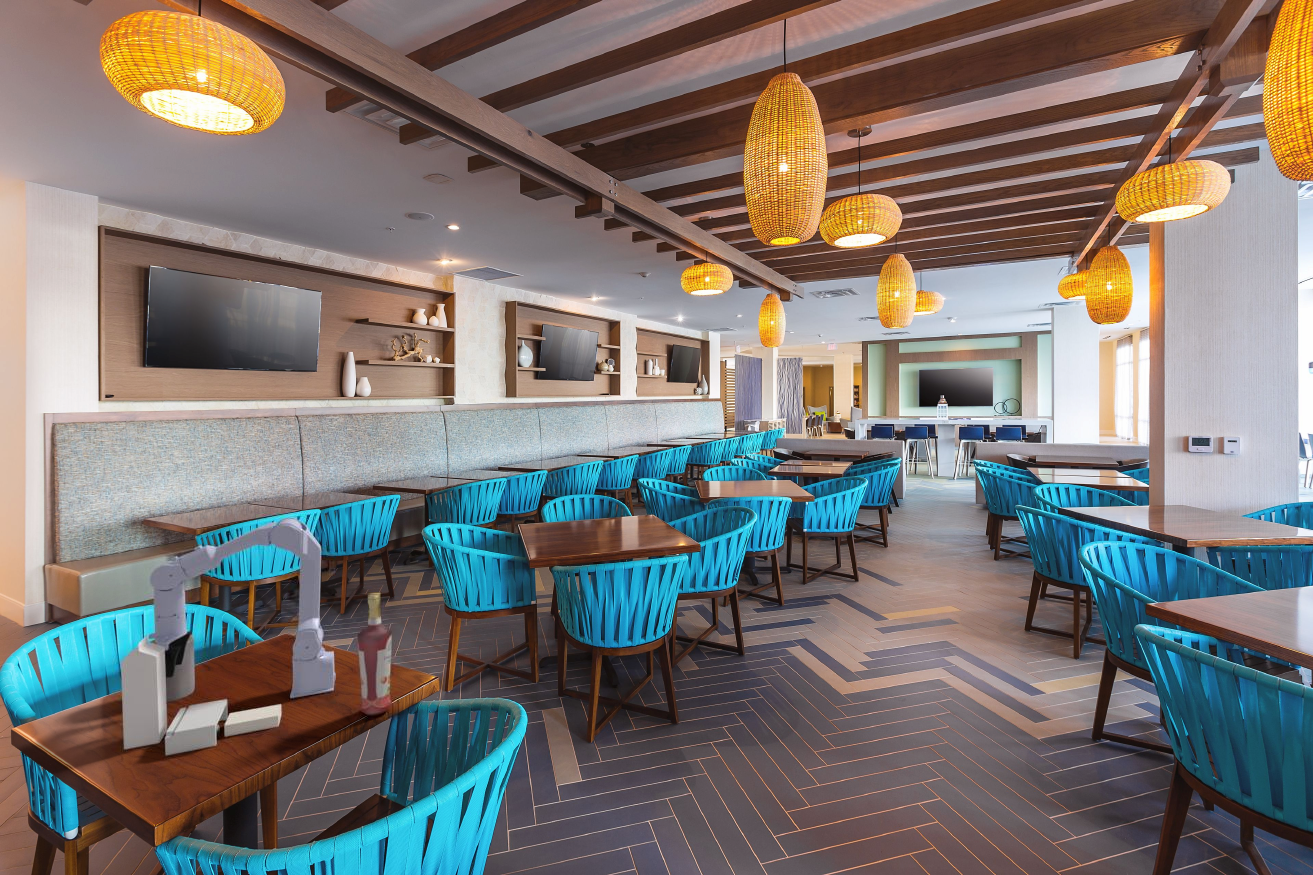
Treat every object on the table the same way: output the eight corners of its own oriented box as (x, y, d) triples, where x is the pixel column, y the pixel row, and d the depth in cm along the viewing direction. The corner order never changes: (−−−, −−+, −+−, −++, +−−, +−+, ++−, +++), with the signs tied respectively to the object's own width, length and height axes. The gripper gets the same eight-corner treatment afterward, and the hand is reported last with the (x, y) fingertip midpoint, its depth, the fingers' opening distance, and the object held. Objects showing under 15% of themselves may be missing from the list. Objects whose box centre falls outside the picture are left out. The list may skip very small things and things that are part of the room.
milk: (167, 730, 135) (165, 632, 135) (159, 743, 130) (157, 641, 129) (132, 736, 133) (130, 636, 132) (122, 750, 127) (120, 646, 127)
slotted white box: (227, 717, 141) (227, 698, 141) (215, 745, 129) (215, 724, 129) (182, 726, 137) (181, 706, 137) (165, 755, 125) (164, 733, 125)
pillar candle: (135, 701, 149) (133, 641, 148) (175, 683, 158) (174, 627, 158) (166, 706, 147) (165, 645, 146) (205, 688, 156) (203, 630, 155)
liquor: (387, 717, 141) (385, 598, 140) (354, 719, 140) (352, 599, 139) (396, 702, 148) (394, 589, 147) (365, 704, 147) (362, 590, 146)
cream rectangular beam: (281, 714, 142) (281, 703, 142) (278, 726, 137) (278, 715, 137) (230, 723, 138) (229, 713, 138) (224, 736, 133) (224, 725, 132)
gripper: (157, 607, 147) (159, 662, 147) (138, 625, 134) (140, 686, 134) (193, 603, 150) (195, 657, 151) (177, 621, 137) (179, 680, 137)
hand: (171, 670), depth 143 cm, fingers open, 7 cm apart
